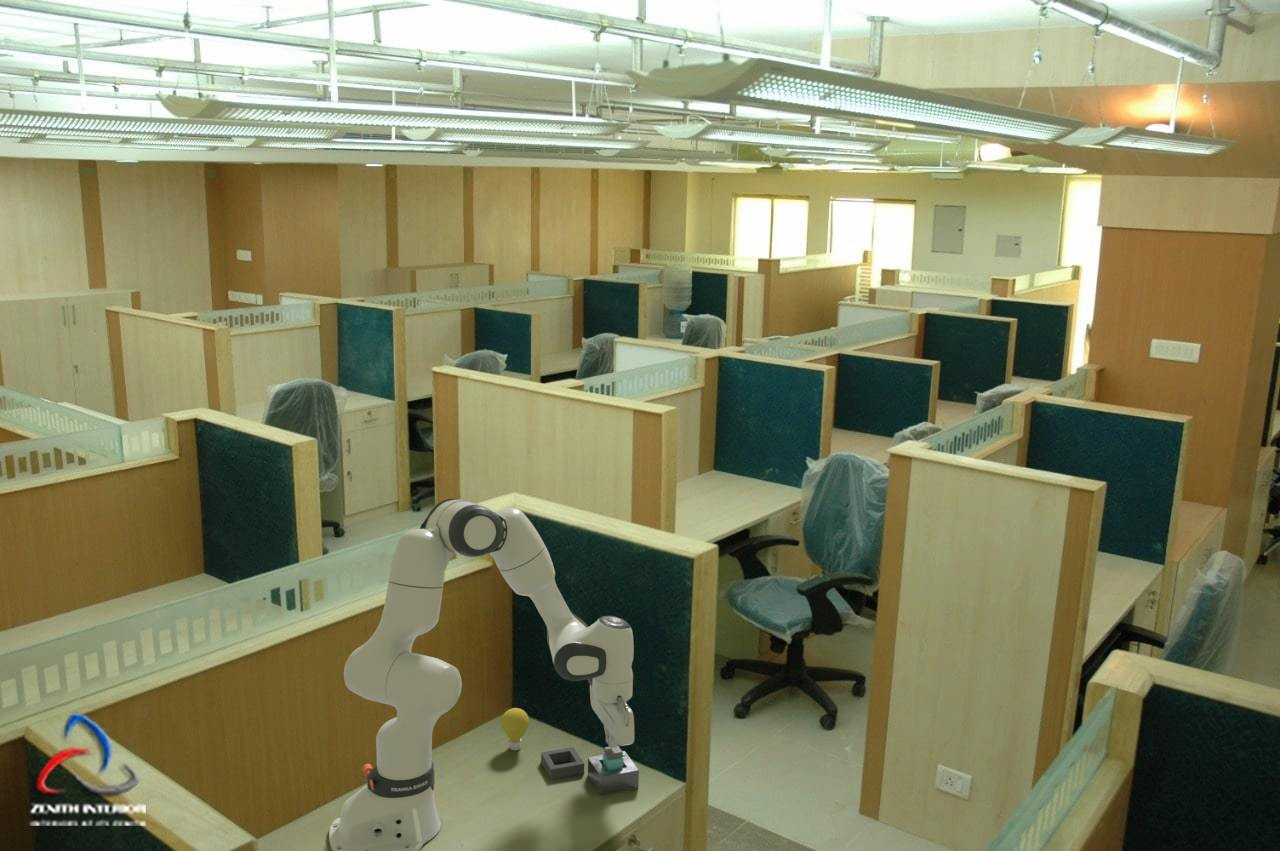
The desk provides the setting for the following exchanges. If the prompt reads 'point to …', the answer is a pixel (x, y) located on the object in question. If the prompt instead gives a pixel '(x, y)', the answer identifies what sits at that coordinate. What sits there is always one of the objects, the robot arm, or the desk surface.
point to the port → (613, 775)
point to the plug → (612, 758)
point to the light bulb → (515, 726)
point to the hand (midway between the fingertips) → (611, 744)
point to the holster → (562, 769)
